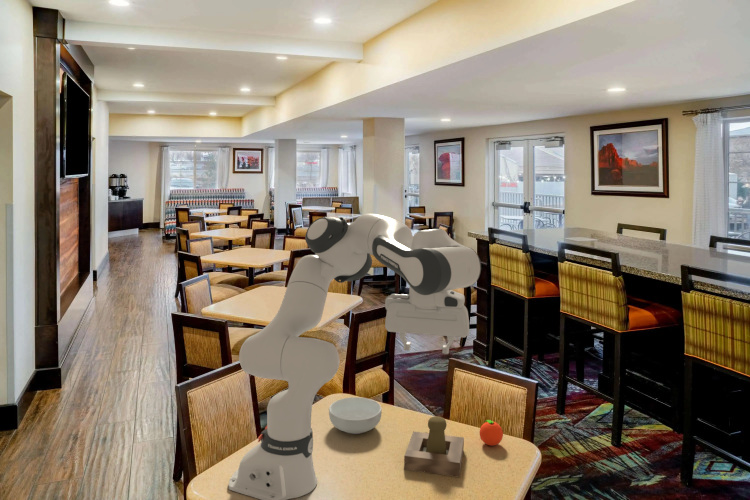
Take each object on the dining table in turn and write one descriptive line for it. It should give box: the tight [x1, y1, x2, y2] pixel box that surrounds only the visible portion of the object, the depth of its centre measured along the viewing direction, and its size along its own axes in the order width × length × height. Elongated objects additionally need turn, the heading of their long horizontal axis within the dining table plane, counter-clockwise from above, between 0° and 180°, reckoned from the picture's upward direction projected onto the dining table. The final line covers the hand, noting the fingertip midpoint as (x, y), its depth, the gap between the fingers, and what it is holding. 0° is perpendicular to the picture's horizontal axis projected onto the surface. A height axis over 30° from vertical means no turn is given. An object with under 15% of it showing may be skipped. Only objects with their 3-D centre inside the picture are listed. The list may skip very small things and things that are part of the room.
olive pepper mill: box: [426, 415, 447, 455], centre depth 153 cm, size 6×6×11 cm
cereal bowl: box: [328, 396, 383, 435], centre depth 172 cm, size 17×17×7 cm
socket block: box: [403, 431, 465, 478], centre depth 154 cm, size 15×15×4 cm
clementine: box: [479, 419, 504, 447], centre depth 164 cm, size 8×7×7 cm
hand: (426, 351), depth 132 cm, fingers open, 8 cm apart
